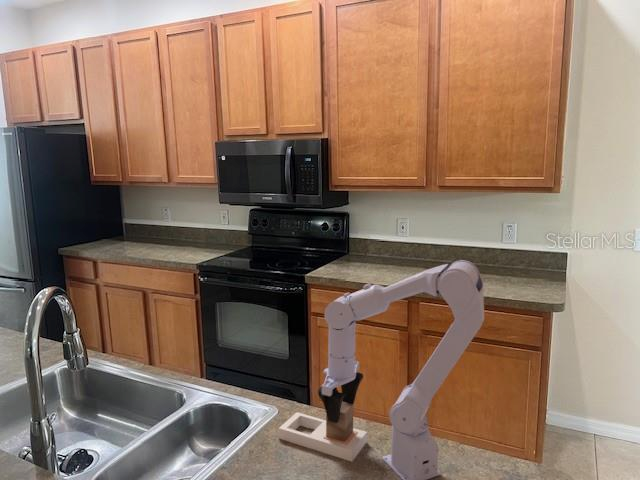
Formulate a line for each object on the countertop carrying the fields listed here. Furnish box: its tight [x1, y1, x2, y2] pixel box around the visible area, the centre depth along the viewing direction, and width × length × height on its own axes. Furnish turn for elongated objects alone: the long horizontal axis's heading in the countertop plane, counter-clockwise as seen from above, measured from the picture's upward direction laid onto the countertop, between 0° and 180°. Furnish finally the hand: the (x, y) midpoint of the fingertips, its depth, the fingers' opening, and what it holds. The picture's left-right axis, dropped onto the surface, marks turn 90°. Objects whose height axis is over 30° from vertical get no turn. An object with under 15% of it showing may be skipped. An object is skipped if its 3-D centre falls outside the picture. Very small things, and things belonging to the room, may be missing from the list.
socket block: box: [278, 412, 368, 463], centre depth 105 cm, size 18×8×3 cm, turn 62°
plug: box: [325, 401, 354, 442], centre depth 103 cm, size 4×4×6 cm
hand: (341, 413), depth 102 cm, fingers open, 7 cm apart
